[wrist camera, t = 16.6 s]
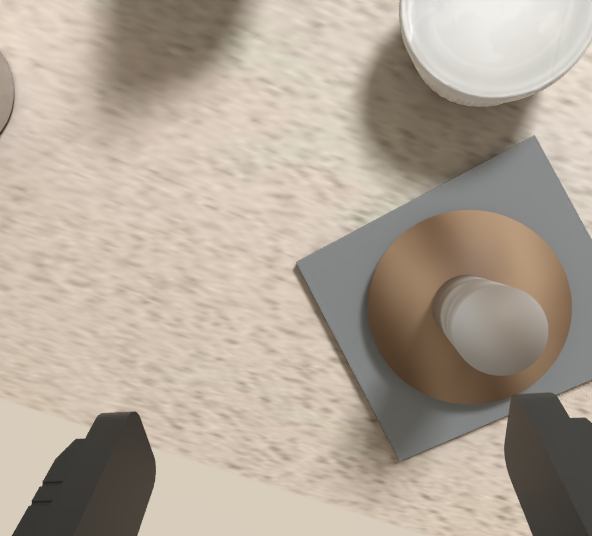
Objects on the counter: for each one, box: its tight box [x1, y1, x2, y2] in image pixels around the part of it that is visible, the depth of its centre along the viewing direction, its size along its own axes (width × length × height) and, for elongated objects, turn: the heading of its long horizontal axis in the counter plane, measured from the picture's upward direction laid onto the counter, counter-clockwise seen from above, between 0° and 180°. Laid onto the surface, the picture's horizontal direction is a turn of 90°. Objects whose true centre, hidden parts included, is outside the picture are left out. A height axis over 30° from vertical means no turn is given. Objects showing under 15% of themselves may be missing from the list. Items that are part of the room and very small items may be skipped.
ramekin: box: [399, 0, 592, 107], centre depth 30 cm, size 11×11×5 cm
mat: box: [296, 135, 592, 461], centre depth 34 cm, size 18×16×1 cm
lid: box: [368, 210, 572, 404], centre depth 29 cm, size 13×13×10 cm
